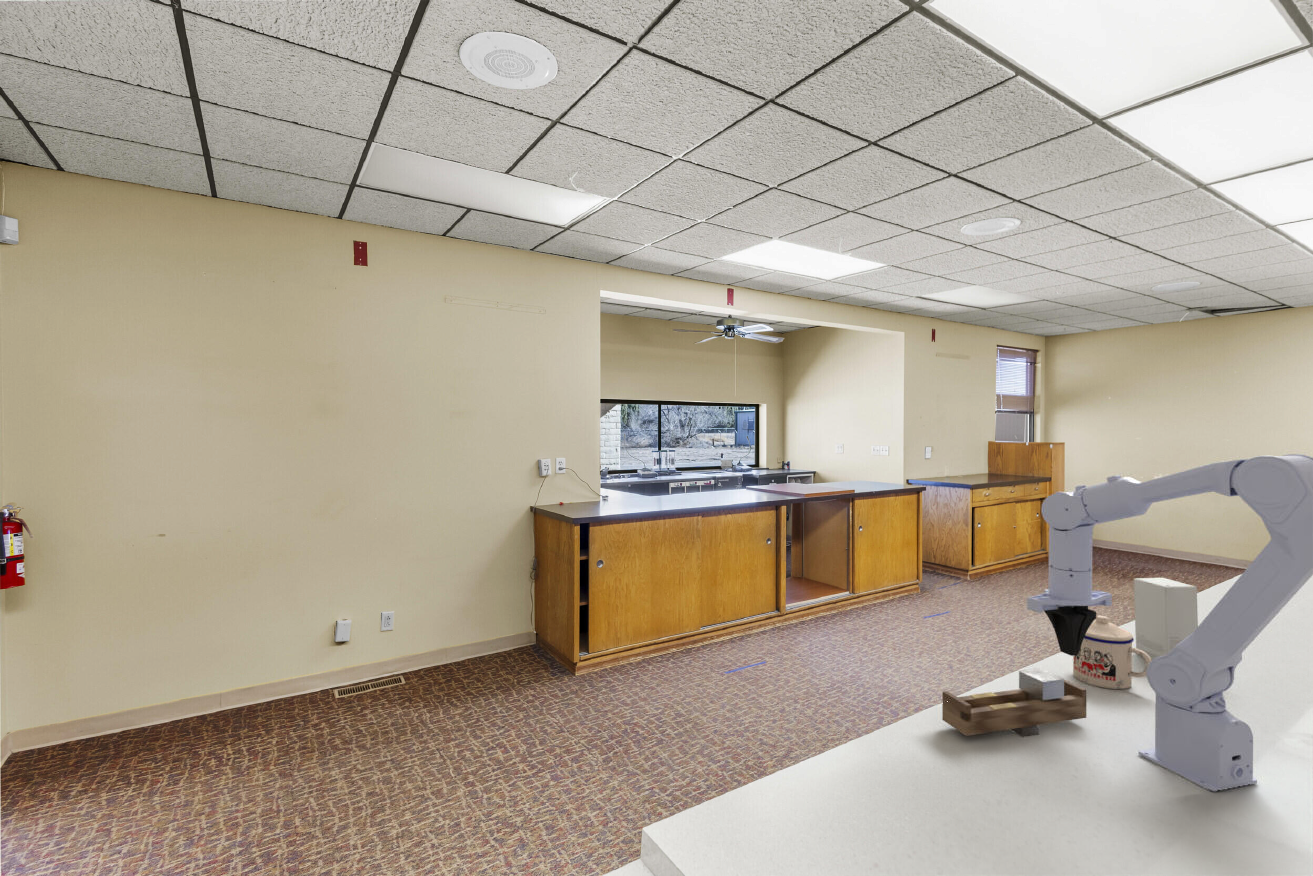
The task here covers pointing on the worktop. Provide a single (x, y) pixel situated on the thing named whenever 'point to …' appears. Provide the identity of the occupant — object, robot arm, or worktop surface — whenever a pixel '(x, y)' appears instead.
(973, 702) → the beam
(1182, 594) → the skincare box
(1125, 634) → the teacup with lid
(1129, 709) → the worktop surface
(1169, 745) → the robot arm
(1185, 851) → the worktop surface
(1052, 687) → the block
